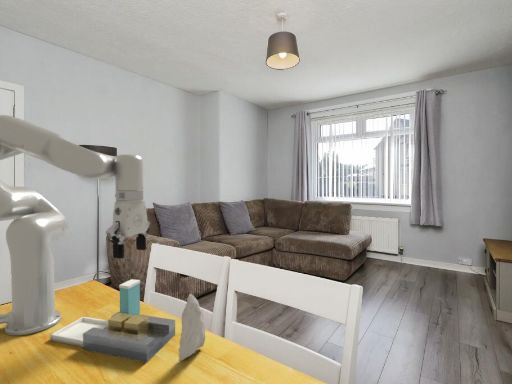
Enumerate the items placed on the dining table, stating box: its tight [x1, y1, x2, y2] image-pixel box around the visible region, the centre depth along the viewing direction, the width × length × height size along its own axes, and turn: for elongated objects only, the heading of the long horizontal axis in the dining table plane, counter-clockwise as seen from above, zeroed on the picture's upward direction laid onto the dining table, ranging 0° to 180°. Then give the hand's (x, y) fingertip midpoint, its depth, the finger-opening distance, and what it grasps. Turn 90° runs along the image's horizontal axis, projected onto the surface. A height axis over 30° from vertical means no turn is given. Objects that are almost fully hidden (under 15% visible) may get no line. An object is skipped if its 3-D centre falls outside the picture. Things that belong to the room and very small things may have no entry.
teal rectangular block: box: [118, 278, 141, 315], centre depth 83 cm, size 3×5×11 cm, turn 165°
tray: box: [49, 316, 109, 348], centre depth 75 cm, size 11×10×2 cm
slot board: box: [82, 311, 176, 363], centre depth 71 cm, size 18×12×4 cm, turn 75°
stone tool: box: [178, 293, 206, 362], centre depth 65 cm, size 8×3×15 cm, turn 150°
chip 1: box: [107, 313, 132, 333], centre depth 72 cm, size 4×4×4 cm
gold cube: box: [124, 315, 148, 336], centre depth 70 cm, size 4×4×4 cm
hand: (130, 253), depth 83 cm, fingers open, 9 cm apart
